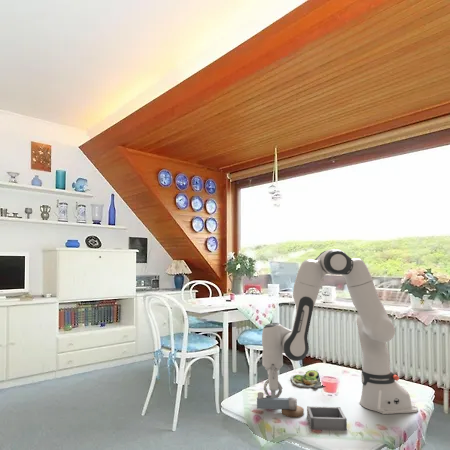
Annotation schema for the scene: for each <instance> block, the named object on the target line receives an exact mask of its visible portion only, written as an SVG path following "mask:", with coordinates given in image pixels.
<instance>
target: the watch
mask: <svg viewBox="0 0 450 450" xmlns="http://www.w3.org/2000/svg"><path fill="white" fill-rule="evenodd" d="M268 385H269V379H268V378H267V380H265V382H264V383H263V391H264V393H265V398H280V396H281V394H282V392H283V386H282V384H281V383H280V381H279V380H278V390H277V391H278V392H277V393H275V397H272V396H271V394H270V393H269V391H268V389H267V386H268Z"/></svg>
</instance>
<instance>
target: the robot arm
mask: <svg viewBox="0 0 450 450" xmlns="http://www.w3.org/2000/svg"><path fill="white" fill-rule="evenodd" d="M326 275H331V276H332V275H333V276H334V275H335V276H337V275H338V276H339V275H341V276H342V277H343V279H344V280H345V283H346V287H347V290H348V293H349V296H350V298H351V302H352V304H353V306H354V307H355V310H356V311H357V313H358V315H357V317H356V325H357V329H358V335H359V336H358V337H359V343H360V347H361V348H360V349H361V355H362V357H361V359H362V369H361V383H362V387H361V389H362V390H361V397H360V400H359V403H360V404H359V405H360V406H361V407H363V408H366V409H368V410H371V411H374V412H378V413H380V414H382V415H390V414H392V415H394V414H409V413H418V406H417V405H416V403H414V402H413V401H412V400H411V396H410V394H409V392H408V391H407V390H406V389H405V388H404V387H403V386H402V385H400V384H399V382H398V381H399V380H400V377H399V376H398V375H397V374H395V373H393V372H392V371H391V365H390V364H391V363H390V361H391V360H390V351H389V349H388V346H387V343H388V342H389V341H391V340H393V338H394V336H395V333H396V332H395V331H396V329H395V325H394V324H393V322H392V320H391V319H390V317H389V315H388V313H387V310H386V309H385V307H384V305H383V303H382V301H381V299H380V297H379V294H378V291H377V289H376V286H375V283H374V280H373V277H372V275H371V273H370V270H369V268H368V267H367V265H366V263H365V261H364V260H362V259H361V258H357V257H353V258H351V257H350V256H349V255H348V254H346V252H344V251H343V250H341V249H334V248H333V249H331V248H330V249H327V250H325V251H322V252H321V253H320V254H319V255H318V256H317V257H316V258H315V259H305V260H304V261H302V263H301V264H300V267H299V268H298V271H297V273H296V276H295V280H294V285H293V288H292V289H293V291H292V297H293V301H294V304H295V309H296V311H295V317H294V322H293V326H292V329H290V328H288V327H285V326H284V325H282V324H281V323H279V322H271V323H267V324H266V325H265V326H263V328H262V331H261V332H262V333H261V345H262V353H261V355H262V356H261V357H262V360H261V361H262V364H261V365H262V366H263V367H264V369H265V370H266V371H267V380H268V379H269V383H268V388H269V391H270V395H271V396H272V397H275V395H276V392H277V391H279V390H278V381H279V372H278V371H280V370H281V368H282V367H283V366H284V359H283V355H284V354H285V356H286V357H287V358H288V359H289V360H290V361H293V362H300V361H302V360H304V359H305V358H306V357H307V355H308V354H309V351H310V350H309V349H310V347H309V340H308V337H309V336H308V335H309V330H310V326H311V321H312V315H313V311H314V307H315V305H316V302H317V299H318V296H319V292H320V288H321V284H322V281H323V279H324V277H325V276H326Z"/></svg>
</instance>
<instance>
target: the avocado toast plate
mask: <svg viewBox="0 0 450 450" xmlns="http://www.w3.org/2000/svg"><path fill="white" fill-rule="evenodd" d="M321 376H322V375H320V373H319V372H318V370H313V369H312V370H308V371H306V372H305V373H304V374H293V375H291V376H290V381H291V382H292V384H294V385H295V386H296V387H298V388H304V389H317V388H321V387H322V386H321V382H320V377H321Z"/></svg>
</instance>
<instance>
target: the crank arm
mask: <svg viewBox="0 0 450 450" xmlns="http://www.w3.org/2000/svg"><path fill="white" fill-rule="evenodd" d="M297 402H298V399H297V398H296V397H293V396H291V397H278V398H266V397H264V392H260V391H259V392H257V397H256V409H258V410H259V409H260V410H261V409H267V410H281V409H290V410H296V409H297V406H298V403H297Z"/></svg>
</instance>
